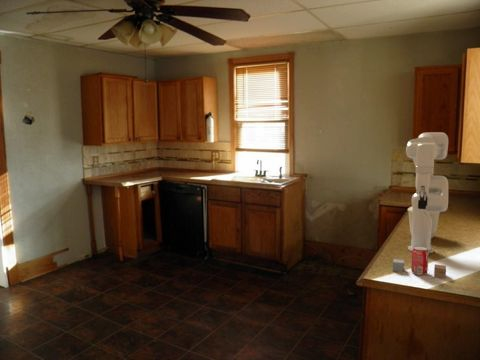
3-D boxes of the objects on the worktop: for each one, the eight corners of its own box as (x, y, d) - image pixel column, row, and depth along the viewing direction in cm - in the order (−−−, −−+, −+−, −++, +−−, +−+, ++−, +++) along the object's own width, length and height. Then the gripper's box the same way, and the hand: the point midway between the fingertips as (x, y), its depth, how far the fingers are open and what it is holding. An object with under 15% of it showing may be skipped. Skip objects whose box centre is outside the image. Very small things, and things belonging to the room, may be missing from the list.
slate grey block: (393, 268, 192) (393, 258, 191) (403, 269, 190) (404, 260, 189) (392, 271, 188) (392, 261, 187) (403, 272, 186) (403, 263, 185)
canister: (404, 238, 239) (406, 203, 237) (407, 231, 255) (409, 198, 252) (438, 242, 231) (440, 206, 228) (439, 234, 247) (441, 200, 244)
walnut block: (434, 273, 184) (434, 264, 184) (445, 275, 182) (446, 265, 182) (433, 277, 180) (434, 267, 180) (445, 278, 178) (446, 268, 178)
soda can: (422, 270, 189) (424, 245, 187) (430, 275, 182) (431, 250, 180) (408, 270, 188) (409, 245, 187) (415, 276, 181) (416, 250, 180)
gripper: (417, 168, 194) (415, 203, 196) (413, 171, 179) (411, 209, 181) (434, 169, 190) (432, 205, 192) (432, 172, 175) (430, 211, 177)
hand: (422, 207), depth 186 cm, fingers open, 9 cm apart
